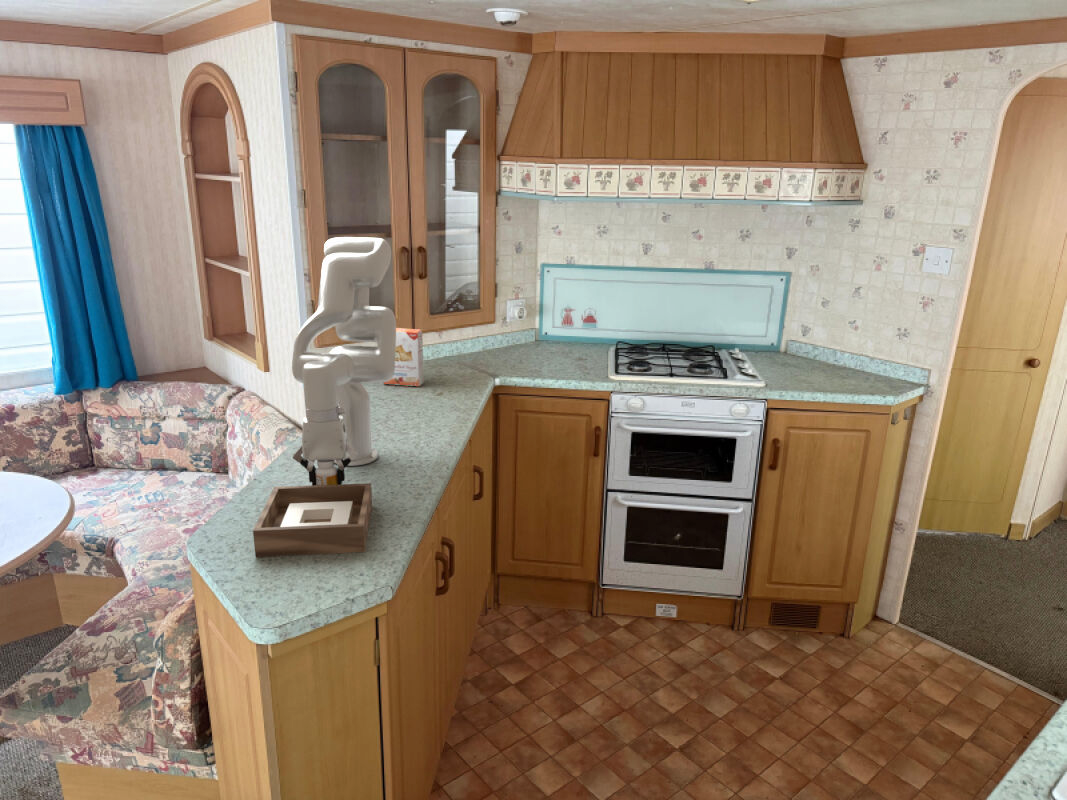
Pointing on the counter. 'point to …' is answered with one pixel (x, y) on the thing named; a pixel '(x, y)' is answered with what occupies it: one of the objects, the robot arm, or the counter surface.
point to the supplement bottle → (326, 473)
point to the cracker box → (408, 357)
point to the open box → (317, 537)
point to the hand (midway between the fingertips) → (327, 483)
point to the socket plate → (318, 513)
